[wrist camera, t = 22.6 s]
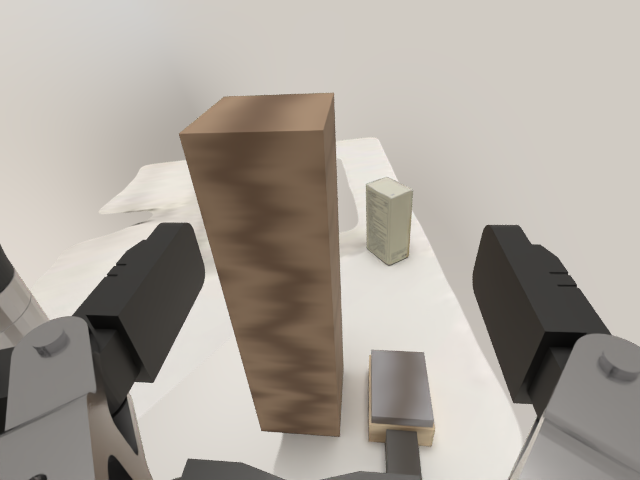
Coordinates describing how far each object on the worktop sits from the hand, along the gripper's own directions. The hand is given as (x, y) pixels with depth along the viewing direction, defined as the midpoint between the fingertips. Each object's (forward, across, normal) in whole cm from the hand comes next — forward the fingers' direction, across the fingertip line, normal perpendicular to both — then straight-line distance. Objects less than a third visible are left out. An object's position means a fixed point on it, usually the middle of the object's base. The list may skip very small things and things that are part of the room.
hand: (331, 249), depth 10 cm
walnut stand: (+14, +5, +31) cm, 35 cm away
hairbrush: (+10, -5, +31) cm, 33 cm away
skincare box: (+41, -5, +32) cm, 52 cm away
